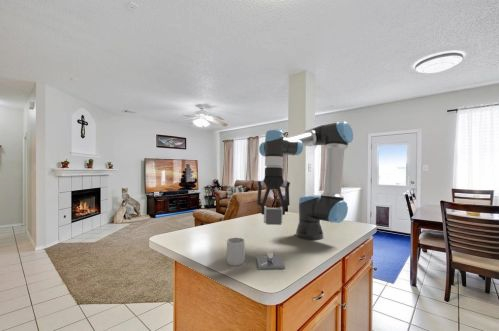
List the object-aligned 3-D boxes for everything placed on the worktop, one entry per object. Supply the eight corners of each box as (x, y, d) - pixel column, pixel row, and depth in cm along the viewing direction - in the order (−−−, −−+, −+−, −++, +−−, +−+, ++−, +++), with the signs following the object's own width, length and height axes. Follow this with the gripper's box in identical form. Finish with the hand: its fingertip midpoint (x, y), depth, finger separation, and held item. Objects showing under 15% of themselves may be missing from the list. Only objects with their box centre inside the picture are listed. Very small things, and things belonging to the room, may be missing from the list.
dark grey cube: (278, 221, 97) (279, 207, 97) (281, 224, 91) (281, 209, 91) (264, 221, 97) (265, 206, 97) (266, 224, 91) (266, 209, 91)
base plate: (280, 258, 96) (280, 248, 96) (285, 268, 86) (285, 256, 86) (256, 259, 95) (256, 248, 95) (258, 269, 85) (258, 257, 85)
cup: (230, 267, 87) (230, 244, 87) (222, 258, 96) (222, 237, 96) (247, 264, 90) (247, 241, 90) (238, 255, 99) (238, 235, 99)
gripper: (294, 167, 99) (293, 221, 98) (250, 166, 98) (249, 220, 97) (298, 167, 91) (297, 224, 91) (251, 166, 91) (250, 224, 90)
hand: (272, 222), depth 94 cm, fingers closed on dark grey cube, 6 cm apart
